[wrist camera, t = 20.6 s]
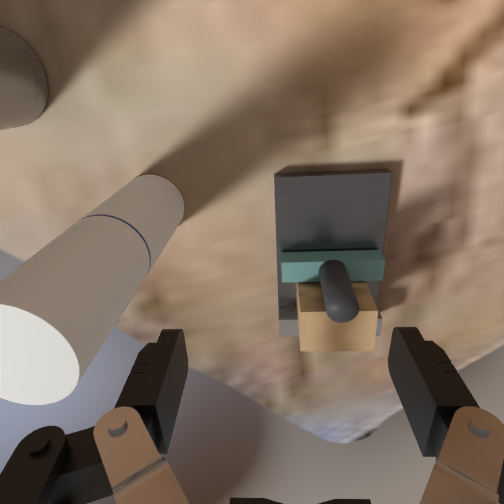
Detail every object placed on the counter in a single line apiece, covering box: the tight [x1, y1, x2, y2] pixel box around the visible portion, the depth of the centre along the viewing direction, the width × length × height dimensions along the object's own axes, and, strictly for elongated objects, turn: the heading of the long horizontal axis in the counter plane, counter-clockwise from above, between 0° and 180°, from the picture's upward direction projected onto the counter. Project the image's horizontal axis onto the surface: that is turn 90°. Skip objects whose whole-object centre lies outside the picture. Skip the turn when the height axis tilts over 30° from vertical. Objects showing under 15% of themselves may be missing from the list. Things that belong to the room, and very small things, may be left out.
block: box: [297, 281, 378, 351], centre depth 40 cm, size 8×5×8 cm, turn 94°
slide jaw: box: [281, 250, 385, 323], centre depth 38 cm, size 11×3×10 cm, turn 93°
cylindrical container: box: [0, 175, 184, 405], centre depth 31 cm, size 7×7×25 cm
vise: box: [274, 169, 392, 337], centre depth 41 cm, size 12×19×4 cm, turn 3°
